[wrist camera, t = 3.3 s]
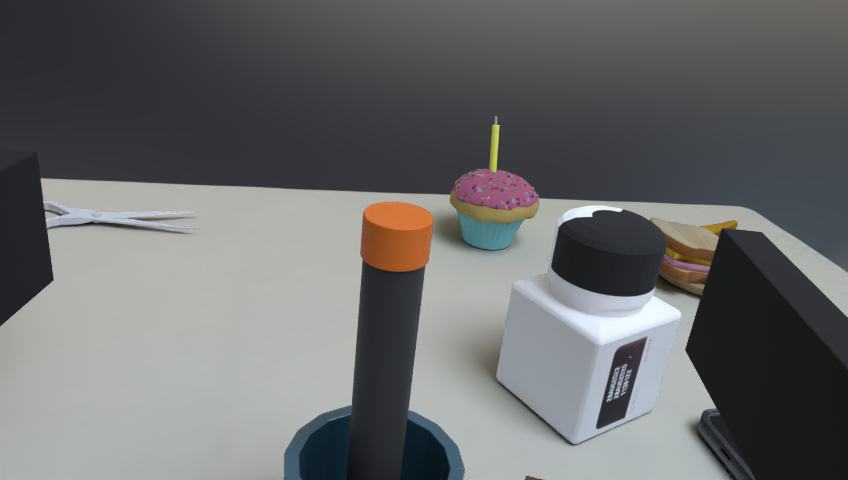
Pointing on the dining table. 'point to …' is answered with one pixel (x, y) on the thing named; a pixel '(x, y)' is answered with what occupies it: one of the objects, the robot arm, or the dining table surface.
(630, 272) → the container
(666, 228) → the toy sandwich meal
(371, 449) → the marker
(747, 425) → the robot arm
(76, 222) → the scissors
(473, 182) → the cupcake
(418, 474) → the pen cup
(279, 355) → the dining table surface
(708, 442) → the phone
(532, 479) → the tray
